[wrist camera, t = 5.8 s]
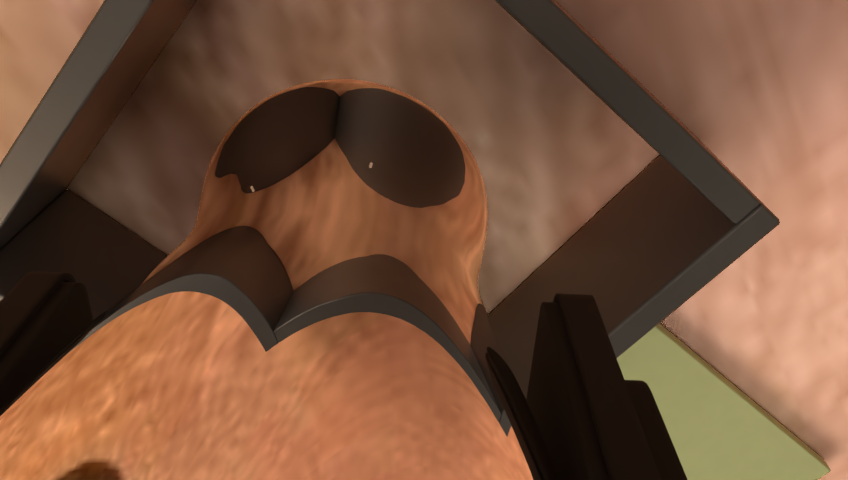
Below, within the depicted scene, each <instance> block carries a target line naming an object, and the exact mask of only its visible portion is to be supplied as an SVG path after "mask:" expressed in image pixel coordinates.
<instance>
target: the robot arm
mask: <svg viewBox="0 0 848 480" xmlns="http://www.w3.org/2000/svg"><path fill="white" fill-rule="evenodd" d="M92 321H93V317H92V312H91V307H90V302H89V297H88V292H87V289H86V287H85V285H84V284H83V283H76V281H75V279H74V277H73V276H72V275H71V274H69V273H61V272H37V271H32V272H28V273H27V274H25V275H24V276H23V277H22V278H21V279H20V280H19V281H18V282H17V284H16V285H15V286H14V287H13V288H12V289H11V290H10V291H9V292H8V293H7V294H6V296H5V297H4V298H3V299H2V300H1V301H0V409H1V408H2V407H3V406H4V405H5V404H6V403H7V402H8V401H9V400H10V399H11V398H12V397H13V396H14V395H15V394H16V393H17V392H18V391H19V390H20V389H21V388H22V387H23V386H24V385H25V384H26V382H27V381H28V380H29V379H30V378H31V377H32V376H33V375H34V374H35V373H36V372H37V371H38V370H39V369H40V368H41V367H42V366H43V365H44V364H45V363H47V362H48V361H49V360H50V359H51V358H52V357H53V356H54V355H55V354H56V353H57V352H58V351H60V350H61V349H62V348H63V347H64V346H65V345H66V344H67V343H69V342H70V341H71V340H72V339H73V338H74V337H75V336H76V335H78V334H79V333H80V332H81V331H82V330H83V329H84V328H85V327H87V326H88V325H89V324H90V323H91V322H92ZM526 401H527V403H528V405H529V407H530V410H531V412H532V414H533V416H534V419H535V421H536V423H537V425H538V428H539V430H540V432H541V434H542V437H543V439H544V441H545V443H546V446H547V448H548V451H549V453H550V456H551V458H552V461H553V464H554V466H555V469H556V472H557V475H558V477H559V480H688V479H687V477H686V475H685V472H684V470H683V467H682V465H681V462H680V460H679V458H678V455H677V453H676V450H675V448H674V445H673V443H672V440H671V438H670V436H669V433H668V431H667V428H666V426H665V423H664V421H663V419H662V416H661V414H660V411H659V409H658V406H657V404H656V402H655V399H654V397H653V394H652V392H651V390H650V388H649V386H648V384H647V383H645V382H644V381H640V380H624V377H623V374H622V372H621V369H620V366H619V364H618V361H617V358H616V355H615V353H614V350H613V347H612V345H611V342H610V339H609V337H608V334H607V331H606V328H605V326H604V323H603V320H602V318H601V315H600V312H599V309H598V307H597V304H596V301H595V299H594V297H593V296H592V295H586V294H562V293H556V294H555V296H554V299H553V302H542V304H541V307H540V312H539V319H538V325H537V332H536V338H535V345H534V351H533V358H532V365H531V371H530V378H529V384H528V391H527V398H526Z"/></svg>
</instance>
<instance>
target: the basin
mask: <svg viewBox="0 0 848 480" xmlns="http://www.w3.org/2000/svg"><path fill="white" fill-rule="evenodd" d="M495 1H496V2H497V3H498V4H499V5H501V6H502V7H503V8H504V9H505V10H506V11H507V12H508V13H509V14H510V15H511V16H512V17H513V18H514V19H516V20H517V21H518V22H519V23H520V24H521V25H522V26H523V27H524V28H525V29H526V30H527V31H528V32H529V33H530V34H532V35H533V36H534V37H535V38H536V39H537V40H538V41H539V42H540V43H541V44H542V45H543V46H544V47H545V48H547V49H548V50H549V51H550V52H551V53H552V54H553V55H554V56H555V57H556V58H557V59H558V60H559V61H560V62H562V63H563V64H564V65H565V66H566V67H567V68H568V69H569V70H570V71H571V72H572V73H573V74H574V75H575V76H577V77H578V78H579V79H580V80H581V81H582V82H583V83H584V84H585V85H586V86H587V87H588V88H589V89H590V90H592V91H593V92H594V93H595V94H596V95H597V96H598V97H599V98H600V99H601V100H602V101H603V102H604V103H605V104H606V105H608V106H609V107H610V108H611V109H612V110H613V111H614V112H615V113H616V114H617V115H618V116H619V117H620V118H621V119H623V120H624V121H625V122H626V123H627V124H628V125H629V126H630V127H631V128H632V129H633V130H634V131H635V132H636V133H638V134H639V135H640V136H641V137H642V138H643V139H644V140H645V141H646V142H647V143H648V144H649V145H650V146H651V147H653V148H654V149H655V150H656V151H657V152H658V153H659V154H660V156H659V157H657V158H656V159H655V160H654V161H653V162H652V163H651V164H650V165H649V166H648V167H647V168H646V169H645V170H643V171H642V172H641V173H640V174H639V175H638V176H637V177H636V178H635V179H634V180H633V181H632V182H631V183H630V184H628V185H627V186H626V187H625V188H624V189H623V190H622V191H621V192H620V193H619V194H618V195H617V196H616V197H614V198H613V199H612V200H611V201H610V202H609V203H608V204H607V205H606V206H605V207H604V208H603V209H602V210H601V211H599V212H598V213H597V214H596V215H595V216H594V217H593V218H592V219H591V220H590V221H589V222H588V223H587V224H585V225H584V226H583V227H582V228H581V229H580V230H579V231H578V232H577V233H576V234H575V235H574V236H573V237H572V238H570V239H569V240H568V241H567V242H566V243H565V244H564V245H563V246H562V247H561V248H560V249H559V250H558V251H556V252H555V253H554V254H553V255H552V256H551V257H550V258H549V259H548V260H547V261H546V262H545V263H544V264H543V265H541V266H540V267H539V268H538V269H537V270H536V271H535V272H534V273H533V274H532V275H531V276H530V277H529V278H527V279H526V280H525V281H524V282H523V283H522V284H521V285H520V286H519V287H518V288H517V289H516V290H515V291H514V292H512V293H511V294H510V295H509V296H508V297H507V298H506V299H505V300H504V301H503V302H502V303H501V304H500V305H498V306H497V307H496V308H495V309H494V310H493V311H492V312H491V313H490V314H489V315H488V317H489V319H490V322H491V324H492V326H493V328H494V331H495V333H496V335H497V337H498V339H499V341H500V343H501V346H502V348H503V350H504V352H505V354H506V356H507V359H508V361H509V363H510V365H511V367H512V369H513V371H514V374H515V376H516V378H517V380H518V382H519V385H520V387H521V389H522V392H523V394H524V396H525V398H527V391H528V384H529V378H530V371H531V365H532V358H533V351H534V345H535V338H536V332H537V325H538V319H539V312H540V307H541V304H542V302H553V299H554V296H555V294H556V293H562V294H586V295H592V296H593V297H594V299H595V301H596V304H597V307H598V309H599V312H600V315H601V318H602V320H603V323H604V326H605V328H606V331H607V334H608V337H609V339H610V342H611V345H612V347H613V350H614V353H615V355H616V358H618V357H619V356H620V355H621V354H623V353H624V352H625V351H626V350H627V349H629V348H630V347H631V346H632V345H633V344H635V343H636V342H637V341H638V340H639V339H641V338H642V337H643V336H644V335H646V334H647V333H648V332H649V331H650V330H652V329H653V328H654V327H655V326H656V325H658V324H659V323H660V322H661V321H662V320H664V319H665V318H666V317H667V316H669V315H670V314H671V313H672V312H673V311H675V310H676V309H677V308H678V307H679V306H681V305H682V304H683V303H684V302H685V301H687V300H688V299H689V298H690V297H691V296H693V295H694V294H695V293H696V292H698V291H699V290H700V289H701V288H702V287H704V286H705V285H706V284H707V283H708V282H710V281H711V280H712V279H713V278H714V277H716V276H717V275H718V274H719V273H721V272H722V271H723V270H724V269H725V268H727V267H728V266H729V265H730V264H731V263H733V262H734V261H735V260H736V259H737V258H739V257H740V256H741V255H742V254H744V253H745V252H746V251H747V250H748V249H750V248H751V247H752V246H753V245H754V244H756V243H757V242H758V241H759V240H760V239H762V238H763V237H764V236H765V235H766V234H768V233H769V232H770V231H771V230H773V229H774V228H775V227H776V226H777V225H779V223H780V222H779V219H778V218H777V217H776V216H775V215H774V214H773V213H772V212H771V211H770V210H769V209H768V208H767V207H766V206H765V205H764V204H763V203H762V202H761V201H760V200H759V199H758V198H757V197H756V196H755V195H754V194H753V193H752V192H751V191H750V190H749V189H748V188H747V187H746V186H745V185H744V184H743V183H742V182H741V181H740V180H739V179H738V178H737V177H736V176H735V175H734V174H733V173H732V172H731V171H730V170H729V169H728V168H727V167H726V166H725V165H724V164H723V163H722V162H721V161H720V160H719V159H718V158H717V157H716V156H715V155H714V154H713V153H712V152H711V151H710V150H709V149H708V148H707V147H706V146H705V145H704V144H703V143H702V142H701V141H700V140H699V139H698V138H697V137H696V136H695V135H694V134H693V133H692V132H691V131H689V130H688V129H687V128H686V127H685V126H684V125H683V124H682V123H681V122H680V121H679V120H678V119H677V118H676V117H675V116H674V115H673V114H672V113H671V112H670V111H669V110H668V109H667V108H666V107H665V106H664V105H663V104H662V103H661V102H660V101H659V100H657V99H656V98H655V97H654V96H653V95H652V94H651V93H650V92H649V91H648V90H647V89H646V88H645V87H644V86H643V85H642V84H641V83H640V82H639V81H638V80H637V79H636V78H635V77H634V76H633V75H632V74H631V73H630V72H629V71H627V70H626V69H625V68H624V67H623V66H622V65H621V64H620V63H619V62H618V61H617V60H616V59H615V58H614V57H613V56H612V55H611V54H610V53H609V52H608V51H607V50H606V49H605V48H604V47H603V46H602V45H601V44H600V43H599V42H598V41H596V40H595V39H594V38H593V37H592V36H591V35H590V34H589V33H588V32H587V31H586V30H585V29H584V28H583V27H582V26H581V25H580V24H579V23H578V22H577V21H576V20H575V19H574V18H573V17H572V16H571V15H570V14H569V13H568V12H566V11H565V10H564V9H563V8H562V7H561V6H560V5H559V4H558V3H557V2H556V1H555V0H495ZM195 2H196V0H105V1H104V2H103V4H102V6H101V7H100V9H99V10H98V12H97V13H96V15H95V17H94V18H93V20H92V21H91V23H90V24H89V26H88V28H87V29H86V31H85V32H84V34H83V35H82V37H81V39H80V40H79V42H78V43H77V45H76V46H75V48H74V49H73V51H72V53H71V54H70V56H69V57H68V59H67V60H66V62H65V64H64V65H63V67H62V68H61V70H60V71H59V73H58V75H57V76H56V78H55V79H54V81H53V82H52V84H51V86H50V87H49V89H48V90H47V92H46V93H45V95H44V97H43V98H42V100H41V101H40V103H39V104H38V106H37V108H36V109H35V111H34V112H33V114H32V115H31V117H30V118H29V120H28V122H27V123H26V125H25V126H24V128H23V129H22V131H21V133H20V134H19V136H18V137H17V139H16V140H15V142H14V144H13V145H12V147H11V148H10V150H9V151H8V153H7V155H6V156H5V158H4V159H3V161H2V162H1V164H0V301H1V300H2V299H3V298H4V297H5V296H6V294H7V293H8V292H9V291H10V290H11V289H12V288H13V287H14V286H15V285H16V284H17V282H18V281H19V280H20V279H21V278H22V277H23V276H24V275H25V274H27V273H28V272H32V271H37V272H61V273H69V274H71V275H72V276H73V277H74V279H75V281H76V283H83V284H84V285H85V287H86V289H87V292H88V297H89V302H90V307H91V312H92V317H93V320H94V319H95V318H97V317H98V316H99V315H100V314H101V313H102V312H103V311H104V310H106V309H107V308H108V307H109V306H110V305H111V304H112V303H113V302H115V301H116V300H117V299H118V298H119V297H120V296H121V295H123V294H124V293H125V292H126V291H127V290H128V289H130V288H131V287H132V286H133V285H134V284H136V283H137V282H138V281H139V280H140V279H141V278H143V277H144V276H145V275H146V274H147V273H148V272H150V271H151V270H152V269H153V268H154V267H155V266H157V265H158V264H159V263H160V262H161V261H162V260H164V259H165V258H166V257H167V255H165V254H164V253H162V252H161V251H159V250H158V249H156V248H155V247H153V246H152V245H150V244H149V243H147V242H146V241H144V240H143V239H141V238H140V237H138V236H137V235H135V234H134V233H132V232H131V231H129V230H128V229H126V228H125V227H123V226H122V225H120V224H119V223H117V222H116V221H114V220H113V219H111V218H110V217H108V216H107V215H105V214H104V213H102V212H101V211H99V210H98V209H96V208H95V207H93V206H92V205H90V204H89V203H87V202H86V201H84V200H83V199H81V198H80V197H78V196H77V195H75V194H74V193H72V192H71V191H69V190H67V189H66V188H67V186H68V185H69V183H70V182H71V181H72V179H73V178H74V176H75V175H76V173H77V172H78V170H79V169H80V168H81V166H82V165H83V163H84V162H85V160H86V159H87V157H88V156H89V155H90V153H91V152H92V150H93V149H94V147H95V146H96V144H97V143H98V142H99V140H100V139H101V137H102V136H103V134H104V133H105V131H106V130H107V129H108V127H109V126H110V124H111V123H112V121H113V120H114V119H115V117H116V116H117V114H118V113H119V111H120V110H121V108H122V107H123V106H124V104H125V103H126V101H127V100H128V98H129V97H130V95H131V94H132V93H133V91H134V90H135V88H136V87H137V85H138V84H139V82H140V81H141V80H142V78H143V77H144V75H145V74H146V72H147V71H148V69H149V68H150V67H151V65H152V64H153V62H154V61H155V59H156V58H157V56H158V55H159V54H160V52H161V51H162V49H163V48H164V46H165V45H166V43H167V42H168V41H169V39H170V38H171V36H172V35H173V33H174V32H175V31H176V29H177V28H178V26H179V25H180V23H181V22H182V20H183V19H184V18H185V16H186V15H187V13H188V12H189V10H190V9H191V7H192V6H193V5H194V3H195ZM65 189H66V190H65Z"/></svg>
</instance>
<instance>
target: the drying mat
mask: <svg viewBox="0 0 848 480" xmlns="http://www.w3.org/2000/svg"><path fill="white" fill-rule="evenodd" d="M617 361H618V364H619V366H620V369H621V372H622V374H623V377H624V380H640V381H644V382H645V383H647V384H648V386H649V388H650V390H651V392H652V394H653V397H654V399H655V402H656V404H657V406H658V409H659V411H660V414H661V416H662V419H663V421H664V423H665V426H666V428H667V431H668V433H669V436H670V438H671V440H672V443H673V445H674V448H675V450H676V453H677V455H678V458H679V460H680V462H681V465H682V467H683V470H684V472H685V475H686V477H687V479H688V480H818V479H820V478H821V477H823V476H824V475H826V474H827V473H829V472H830V468H829V467H828V465H827V464H826V462H825V461H824V459H823V458H821V457H820V456H819V455H818V454H817V453H815V452H814V451H813V450H812V449H811V448H809V447H808V446H807V445H806V444H805V443H803V442H802V441H801V440H800V439H799V438H797V437H796V436H795V435H794V434H792V433H791V432H790V431H789V430H788V429H786V428H785V427H784V426H783V425H782V424H780V423H779V422H778V421H777V420H776V419H774V418H773V417H772V416H771V415H770V414H768V413H767V412H766V411H765V410H763V409H762V408H761V407H760V406H759V405H757V404H756V403H755V402H754V401H753V400H751V399H750V398H749V397H748V396H747V395H745V394H744V393H743V392H742V391H741V390H739V389H738V388H737V387H736V386H735V385H733V384H732V383H731V382H730V381H728V380H727V379H726V378H725V377H724V376H722V375H721V374H720V373H719V372H718V371H716V370H715V369H714V368H713V367H712V366H710V365H709V364H708V363H707V362H706V361H704V360H703V359H702V358H701V357H699V356H698V355H697V354H696V353H695V352H693V351H692V350H691V349H690V348H689V347H687V346H686V345H685V344H684V343H683V342H681V341H680V340H679V339H678V338H677V337H675V336H674V335H673V334H672V333H671V332H669V331H668V330H667V329H666V328H664V327H663V326H662V325H661V324H660V323H659V324H658V325H656V326H655V327H654V328H653V329H652V330H650V331H649V332H648V333H647V334H646V335H644V336H643V337H642V338H641V339H639V340H638V341H637V342H636V343H635V344H633V345H632V346H631V347H630V348H629V349H627V350H626V351H625V352H624V353H623V354H621V355H620V356H619V357H618V358H617Z"/></svg>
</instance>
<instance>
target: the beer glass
mask: <svg viewBox="0 0 848 480" xmlns="http://www.w3.org/2000/svg"><path fill="white" fill-rule="evenodd" d="M487 227H488V206H487V196H486V191H485V186H484V182H483V179H482V175H481V173H480V170H479V167H478V165H477V163H476V161H475V159H474V157H473V155H472V153H471V151H470V150H469V148H468V147H467V145H466V144H465V142H464V141H463V139H462V138H461V137H460V136H459V134H458V133H457V132H456V131H455V130H454V129H453V128H452V127H451V125H450V124H449V123H448V122H447V121H446V120H444V119H443V118H442V117H441V116H440V115H439V114H438V113H436V112H435V111H434V110H432V109H431V108H430V107H428V106H427V105H425V104H424V103H422V102H421V101H419V100H417V99H415V98H414V97H412V96H410V95H408V94H406V93H403V92H401V91H399V90H396V89H394V88H391V87H388V86H384V85H381V84H377V83H373V82H367V81H361V80H352V79H328V80H318V81H312V82H307V83H303V84H299V85H296V86H293V87H290V88H287V89H284V90H282V91H280V92H277V93H275V94H273V95H271V96H269V97H267V98H266V99H264V100H262V101H261V102H259V103H258V104H256V105H255V106H254V107H252V108H251V109H250V110H249V111H248V112H246V113H245V114H244V115H243V116H242V117H241V118H240V119H239V120H238V121H237V122H236V123H235V124H234V125H233V126H232V128H231V129H230V130H229V131H228V133H227V134H226V135H225V137H224V138H223V140H222V141H221V143H220V144H219V146H218V148H217V150H216V152H215V154H214V156H213V158H212V160H211V162H210V165H209V167H208V170H207V174H206V177H205V181H204V184H203V189H202V194H201V199H200V204H199V210H198V215H197V220H196V223H195V226H194V228H193V230H192V232H191V233H190V235H189V236H188V237H187V238H186V239H185V240H184V241H183V242H182V243H181V244H180V245H179V246H178V247H177V248H176V249H175V250H173V251H172V252H171V253H170V254H169V255H168V256H167V257H166V258H165V259H164V260H162V261H161V262H160V263H159V264H158V265H157V266H155V267H154V268H153V269H152V270H151V271H150V272H148V273H147V274H146V275H145V276H144V277H143V278H141V279H140V280H139V281H138V282H137V283H136V284H134V285H133V286H132V287H131V288H130V289H128V290H127V291H126V292H125V293H124V294H123V295H121V296H120V297H119V298H118V299H117V300H116V301H115V302H113V303H112V304H111V305H110V306H109V307H108V308H107V309H106V310H104V311H103V312H102V313H101V314H100V315H99V316H98V317H97V318H95V319H94V320H93V321H92V322H91V323H90V324H89V325H88V326H87V327H85V328H84V329H83V330H82V331H81V332H80V333H79V334H78V335H76V336H75V337H74V338H73V339H72V340H71V341H70V342H69V343H67V344H66V345H65V346H64V347H63V348H62V349H61V350H60V351H58V352H57V353H56V354H55V355H54V356H53V357H52V358H51V359H50V360H49V361H48V362H47V363H45V364H44V365H43V366H42V367H41V368H40V369H39V370H38V371H37V372H36V373H35V374H34V375H33V376H32V377H31V378H30V379H29V380H28V381H27V382H26V384H25V385H24V386H23V387H22V388H21V389H20V390H19V391H18V392H17V393H16V394H15V395H14V396H13V397H12V398H11V399H10V400H9V401H8V402H7V403H6V404H5V405H4V406H3V407H2V408H1V409H0V480H559V477H558V475H557V472H556V469H555V466H554V464H553V461H552V458H551V456H550V453H549V451H548V448H547V446H546V443H545V441H544V439H543V437H542V434H541V432H540V430H539V428H538V425H537V423H536V421H535V419H534V416H533V414H532V412H531V410H530V407H529V405H528V403H527V401H526V398H525V396H524V394H523V392H522V389H521V387H520V385H519V382H518V380H517V378H516V376H515V374H514V371H513V369H512V367H511V365H510V363H509V361H508V359H507V356H506V354H505V352H504V350H503V348H502V346H501V343H500V341H499V339H498V337H497V335H496V333H495V331H494V328H493V326H492V324H491V322H490V319H489V317H488V314H487V312H486V310H485V307H484V305H483V302H482V300H481V297H480V293H479V288H478V275H479V270H480V266H481V262H482V257H483V253H484V248H485V243H486V236H487Z"/></svg>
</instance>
